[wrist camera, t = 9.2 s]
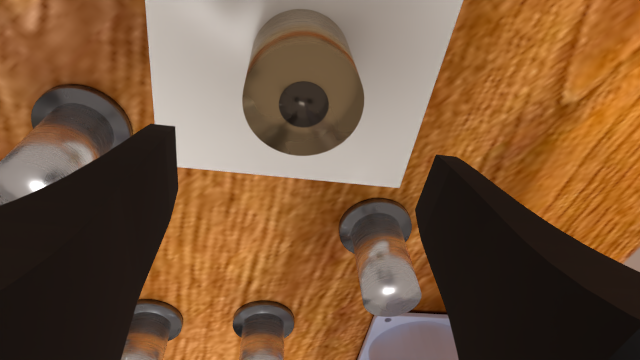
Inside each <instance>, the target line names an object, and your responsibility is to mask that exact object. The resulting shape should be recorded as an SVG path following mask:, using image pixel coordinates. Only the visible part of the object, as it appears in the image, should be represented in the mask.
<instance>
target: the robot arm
mask: <svg viewBox="0 0 640 360" xmlns="http://www.w3.org/2000/svg"><path fill="white" fill-rule="evenodd" d="M177 192H178V174H177V153H176V132H175V126H167V125H158V124H150V125H148V126H146V127H145V128H143V129H142V130H140V131H139V132H137V133H136V134H134V135H133V136H131V137H130V138H128V139H127V140H125V141H124V142H122V143H120V144H119V145H117V146H116V147H114V148H113V149H111V150H110V151H108V152H107V153H105V154H103V155H102V156H100V157H99V158H97V159H95V160H93V161H92V162H90V163H88V164H86V165H85V166H83V167H81V168H79V169H78V170H76V171H74V172H72V173H71V174H69V175H67V176H65V177H63V178H61V179H60V180H58V181H56V182H53V183H51V184H49V185H47V186H45V187H43V188H41V189H39V190H36V191H34V192H32V193H30V194H28V195H25V196H23V197H21V198H18V199H16V200H13V201H11V202H8V203H5V204H3V205H0V360H121V358H122V354H123V351H124V347H125V343H126V340H127V336H128V333H129V329H130V326H131V322H132V319H133V315H134V312H135V308H136V305H137V302H138V299H139V296H140V293H141V291H142V288H143V285H144V283H145V281H146V278H147V276H148V273H149V271H150V268H151V266H152V264H153V261H154V259H155V256H156V254H157V252H158V249H159V247H160V244H161V242H162V239H163V237H164V234H165V232H166V229H167V227H168V224H169V222H170V219H171V215H172V212H173V208H174V204H175V200H176V196H177ZM415 212H416V217H417V223H418V228H419V233H420V237H421V241H422V244H423V247H424V250H425V253H426V255H427V258H428V261H429V264H430V267H431V269H432V272H433V275H434V277H435V280H436V283H437V286H438V288H439V291H440V294H441V297H442V299H443V302H444V305H445V308H446V311H447V314H448V315H443V314H424V313H404V314H402V315H398V316H393V317H381V316H377V315H374V317H373V320H372V322H371V325H370V328H369V330H368V333H367V335H366V338H365V341H364V343H363V346H362V349H361V351H360V354H359V356H358V359H357V360H640V272H638V271H636V270H634V269H631V268H629V267H627V266H625V265H623V264H621V263H619V262H617V261H615V260H613V259H611V258H609V257H607V256H605V255H603V254H601V253H599V252H598V251H596V250H594V249H592V248H590V247H588V246H586V245H585V244H583V243H581V242H579V241H578V240H576V239H574V238H573V237H571V236H569V235H568V234H566V233H564V232H562V231H561V230H559V229H557V228H556V227H554V226H553V225H551V224H550V223H548V222H547V221H545V220H544V219H542V218H541V217H539V216H538V215H536V214H535V213H533V212H532V211H530V210H529V209H527V208H526V207H525V206H523V205H522V204H520V203H519V202H518V201H516V200H515V199H514V198H512V197H511V196H510V195H508V194H507V193H506V192H504V191H503V190H502V189H500V188H499V187H498V186H496V185H495V184H494V183H492V182H491V181H490V180H488V179H487V178H486V177H485V176H483V175H482V174H481V173H479V172H478V171H477V170H475V169H474V168H472V167H471V166H470V165H468V164H467V163H465V162H464V161H462V160H461V159H459V158H457V157H453V156H444V155H436V156H435V159H434V161H433V164H432V167H431V169H430V172H429V175H428V177H427V180H426V182H425V185H424V188H423V190H422V193H421V196H420V198H419V201H418V203H417V206H416V209H415Z"/></svg>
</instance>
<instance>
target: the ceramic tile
mask: <svg viewBox="0 0 640 360" xmlns="http://www.w3.org/2000/svg"><path fill="white" fill-rule="evenodd" d="M462 3H463V0H145V5H146V18H147V31H148V43H149V56H150V68H151V81H152V94H153V106H154V119H155V124H158V125H167V126H175V132H176V153H177V167H183V168H194V169H205V170H215V171H226V172H236V173H247V174H257V175H268V176H278V177H289V178H299V179H310V180H321V181H331V182H342V183H352V184H363V185H373V186H384V187H394V188H400V185H401V182H402V179H403V176H404V173H405V170H406V167H407V164H408V161H409V158H410V155H411V152H412V149H413V147H414V144H415V141H416V138H417V135H418V132H419V129H420V126H421V123H422V120H423V117H424V114H425V111H426V108H427V105H428V102H429V100H430V97H431V94H432V91H433V88H434V85H435V82H436V79H437V76H438V73H439V70H440V67H441V64H442V61H443V58H444V55H445V53H446V50H447V47H448V44H449V41H450V38H451V35H452V32H453V29H454V26H455V23H456V20H457V17H458V14H459V11H460V8H461V5H462ZM293 9H308V10H313V11H316V12H319V13H321V14H323V15H325V16H327V17H328V18H330V19H331V20H332V21H334V22H335V23H336V24H337V25H338V27H339V28H340V29H341V30H342V32H343V34H344V36H345V38H346V40H347V43H348V46H349V48H350V51H351V54H352V57H353V60H354V63H355V65H356V68H357V71H358V74H359V77H360V80H361V83H362V86H363V90H364V108H363V113H362V116H361V119H360V121H359V123H358V126H357V127H356V129H355V130H354V132H353V133H352V134H351V135H350V136H349V137H348V138H347V139H346V140H345V141H344V142H343V143H341V144H340V145H339V146H337V147H335V148H333V149H331V150H329V151H327V152H324V153H321V154H317V155H311V156H295V155H289V154H285V153H282V152H279V151H277V150H275V149H273V148H271V147H269V146H268V145H266V144H265V143H263V142H262V141H261V140H260V139H259V138H258V137H257V136H256V135H255V134H254V133H253V131H252V130H251V128H250V127H249V125H248V123H247V121H246V118H245V115H244V112H243V106H242V95H243V88H244V84H245V79H246V74H247V70H248V65H249V61H250V56H251V51H252V47H253V43H254V40H255V38H256V36H257V34H258V32H259V30H260V29H261V28H262V27H263V25H264V24H265V23H266V22H267V21H268V20H270V19H271V18H272V17H274V16H275V15H277V14H279V13H282V12H285V11H288V10H293Z"/></svg>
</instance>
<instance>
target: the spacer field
mask: <svg viewBox="0 0 640 360" xmlns="http://www.w3.org/2000/svg"><path fill="white" fill-rule="evenodd" d="M31 121H32V126H33V130H32V131H31V132H30V133H29V134H28V135H27V136H26V137H25V138H24V139H23V140H22V141H21V142H20V143H19V144H18V145H17V146H16V147H15V148H14V149H13V150H12V151H11V152H10V153H9V154H8V155H7V156H6V157H5V158H4V159H2V160H1V161H0V205H3V204H5V203H8V202H11V201H13V200H16V199H18V198H21V197H23V196H25V195H28V194H30V193H32V192H34V191H36V190H39V189H41V188H43V187H45V186H47V185H49V184H51V183H53V182H56V181H58V180H60V179H61V178H63V177H65V176H67V175H69V174H71V173H72V172H74V171H76V170H78V169H79V168H81V167H83V166H85V165H86V164H88V163H90V162H92V161H93V160H95V159H97V158H99V157H100V156H102V155H103V154H105V153H107V152H108V151H110V150H111V149H113V148H114V147H116V146H117V145H119V144H120V143H122V142H124V141H125V140H127V139H128V138H130V137H131V136H132V127H131V124H130V121H129V119H128V117H127V115H126V114H125V112H124V111H123V110H122V108H121V107H120V106H119V105H118V104H117V103H116V102H115V101H114V100H112V99H111V98H110V97H108V96H107V95H105V94H104V93H102V92H100V91H98V90H95V89H93V88H90V87H86V86H81V85H62V86H58V87H55V88H52V89H51V90H49V91H47V92H46V93H45V94H44V95H43V96H41V97H40V98H39V99H38V101H37V102H36V103H35V105H34V107H33V110H32V115H31ZM411 229H412V224H411V220H410V217H409V215H408V212H407V211H406V209H405V208H404V207H403V206H402V205H400V204H399V203H397V202H395V201H392V200H389V199H383V198H376V199H369V200H365V201H362V202H359V203H357V204H355V205H354V206H352V207H351V208H350V209H349V210H347V211H346V213H345V214H344V215H343V217H342V218H341V221H340V224H339V233H340V239H341V242H342V244H343V245H344V246H345V248H346V249H348V250H349V251H350V252H352V253H354V254H355V259H356V265H357V270H358V276H359V282H360V288H361V293H362V299H363V305H364V307H365V309H366V310H367V311H368V312H370V313H371V314H374V315H377V316H381V317H393V316H398V315H402V314H404V313H407V312H409V311H410V310H412V309H413V308H414V307H416V306H417V304H418V303H419V301H420V299H421V290H420V287H419V284H418V281H417V278H416V275H415V272H414V268H413V265H412V262H411V259H410V256H409V253H408V250H407V246H406V243H405V242H406V241H407V239H408V238H409V236H410V233H411ZM182 324H183V318H182V315H181V314H180V312H179V311H178V310H177V309H176V308H174V307H173V306H171V305H169V304H167V303H164V302H161V301H157V300H146V299H144V300H138V302H137V305H136V308H135V312H134V315H133V319H132V322H131V326H130V329H129V333H128V336H127V340H126V343H125V347H124V351H123V354H122V358H121V360H163V358H164V354H165V350H166V346H167V342H168V341H169V340H172V339H174V338H175V337H176V336H178V335H179V333H180V332H181V328H182ZM293 328H294V316H293V314H292V312H291V311H290V310H289V309H288V308H287V307H285V306H284V305H282V304H279V303H276V302H271V301H257V302H252V303H249V304H246V305H244V306H242V307H241V308H239V309H238V310H237V311H236V313H235V315H234V320H233V329H234V331H235V332H236V334H237V335H238V336H240V337H241V347H240V356H239V360H284V338H285V337H287V336H288V335H289V334H290V333H291V332H292V330H293Z"/></svg>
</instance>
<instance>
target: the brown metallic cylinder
mask: <svg viewBox="0 0 640 360" xmlns="http://www.w3.org/2000/svg"><path fill="white" fill-rule="evenodd" d="M242 106H243V112H244V115H245V118H246V121H247V123H248V125H249V127H250V128H251V130H252V131H253V133H254V134H255V135H256V136H257V137H258V138H259V139H260V140H261V141H262V142H263V143H265V144H266V145H268V146H269V147H271V148H273V149H275V150H277V151H279V152H282V153H285V154H289V155H295V156H311V155H317V154H321V153H324V152H327V151H329V150H331V149H333V148H335V147H337V146H339V145H340V144H341V143H343V142H344V141H345V140H346V139H347V138H348V137H349V136H350V135H351V134H352V133H353V132H354V130H355V129H356V127H357V126H358V123H359V121H360V119H361V116H362V113H363V108H364V90H363V86H362V83H361V80H360V77H359V74H358V71H357V68H356V65H355V63H354V60H353V57H352V54H351V51H350V48H349V46H348V43H347V40H346V38H345V36H344V34H343V32H342V30H341V29H340V28H339V27H338V25H337V24H336V23H335V22H334V21H332V20H331V19H330V18H328V17H327V16H325V15H323V14H321V13H319V12H316V11H313V10H308V9H293V10H288V11H285V12H282V13H279V14H277V15H275V16H274V17H272V18H271V19H270V20H268V21H267V22H266V23H265V24H264V25H263V27H262V28H261V29H260V30H259V32H258V34H257V36H256V38H255V40H254V43H253V47H252V51H251V56H250V61H249V65H248V70H247V74H246V79H245V84H244V88H243V95H242Z"/></svg>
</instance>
